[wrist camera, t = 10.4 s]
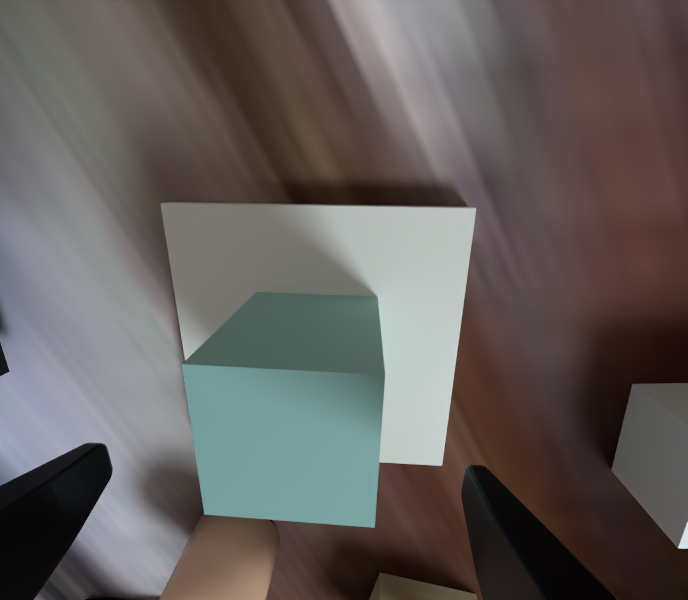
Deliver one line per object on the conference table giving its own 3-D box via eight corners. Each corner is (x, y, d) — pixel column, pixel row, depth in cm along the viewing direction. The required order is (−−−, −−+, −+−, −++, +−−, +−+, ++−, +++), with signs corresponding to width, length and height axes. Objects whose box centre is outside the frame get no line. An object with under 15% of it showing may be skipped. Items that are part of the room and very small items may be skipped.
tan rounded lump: (184, 538, 21) (142, 620, 17) (218, 491, 19) (180, 571, 15) (255, 573, 21) (231, 658, 18) (294, 530, 20) (277, 616, 16)
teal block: (263, 394, 16) (204, 514, 10) (256, 291, 14) (181, 364, 8) (371, 401, 15) (374, 527, 10) (377, 296, 14) (385, 374, 8)
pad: (208, 437, 18) (199, 451, 17) (174, 202, 14) (160, 203, 13) (437, 450, 17) (442, 465, 16) (468, 206, 13) (476, 207, 12)
